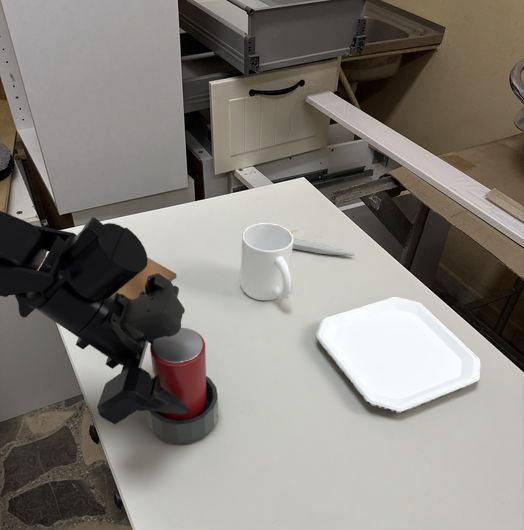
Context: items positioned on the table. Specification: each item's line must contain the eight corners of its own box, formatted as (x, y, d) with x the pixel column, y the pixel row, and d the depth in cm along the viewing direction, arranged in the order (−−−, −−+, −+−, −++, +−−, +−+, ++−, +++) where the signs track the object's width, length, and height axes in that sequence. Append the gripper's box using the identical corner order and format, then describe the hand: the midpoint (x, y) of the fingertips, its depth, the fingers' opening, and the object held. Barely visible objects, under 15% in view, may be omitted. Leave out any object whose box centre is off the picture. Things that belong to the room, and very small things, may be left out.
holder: (148, 448, 67) (145, 427, 64) (148, 393, 73) (145, 371, 70) (220, 441, 68) (220, 420, 65) (213, 388, 75) (213, 366, 72)
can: (159, 436, 68) (150, 366, 58) (158, 397, 72) (149, 327, 63) (208, 431, 69) (207, 362, 59) (204, 394, 73) (203, 324, 64)
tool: (354, 256, 100) (356, 247, 98) (354, 261, 99) (356, 252, 97) (266, 240, 102) (267, 231, 100) (264, 245, 101) (265, 236, 99)
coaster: (124, 310, 85) (123, 307, 84) (76, 279, 90) (75, 276, 89) (176, 277, 92) (176, 273, 91) (129, 250, 97) (129, 246, 96)
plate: (406, 300, 91) (409, 290, 90) (490, 382, 79) (496, 372, 77) (304, 332, 84) (305, 322, 83) (378, 428, 71) (382, 418, 70)
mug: (306, 308, 88) (315, 257, 81) (263, 321, 85) (267, 269, 78) (273, 268, 96) (278, 218, 88) (232, 279, 93) (233, 228, 85)
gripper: (112, 338, 48) (231, 420, 56) (151, 226, 61) (243, 306, 69) (45, 388, 53) (162, 456, 61) (95, 276, 66) (185, 344, 74)
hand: (191, 385), depth 66 cm, fingers open, 8 cm apart
